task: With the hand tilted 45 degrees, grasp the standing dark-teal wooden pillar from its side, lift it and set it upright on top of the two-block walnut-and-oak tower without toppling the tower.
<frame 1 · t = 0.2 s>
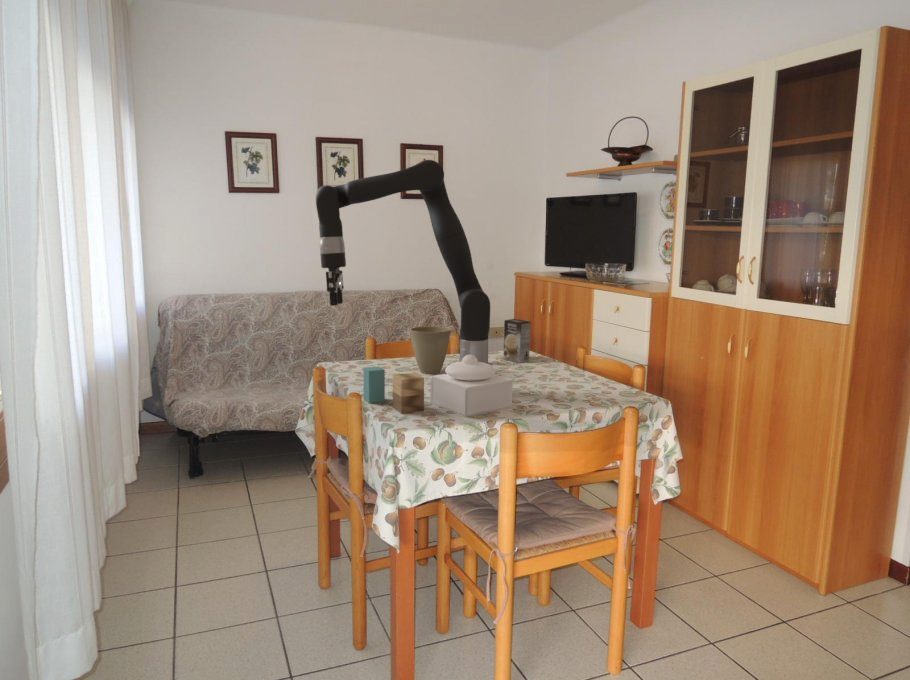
hand: (336, 304, 209), 28 cm above the table, tool pointing down, fingers open, 8 cm apart
coffee box: (516, 360, 269), on the table
oak block: (408, 392, 196), point 5 cm above the table, touching walnut block
walnut block: (408, 409, 197), on the table, touching oak block
plant pot: (430, 372, 246), on the table
teal pillar: (374, 400, 206), on the table
butter dish: (471, 407, 201), on the table
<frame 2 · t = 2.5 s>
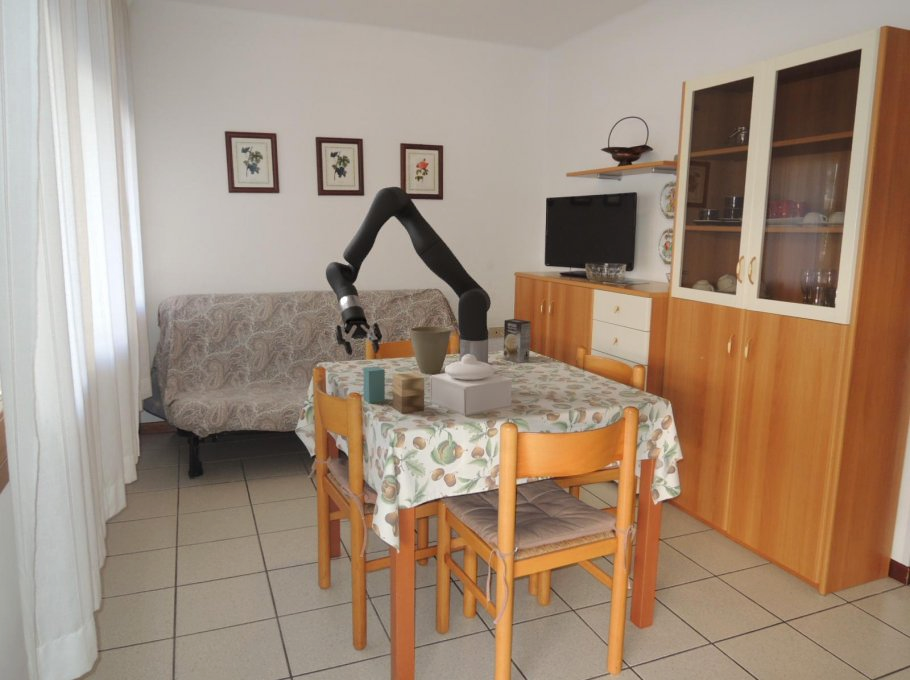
hand: (363, 352, 212), 13 cm above the table, tool tilted 45°, fingers open, 8 cm apart
nothing on the table moved.
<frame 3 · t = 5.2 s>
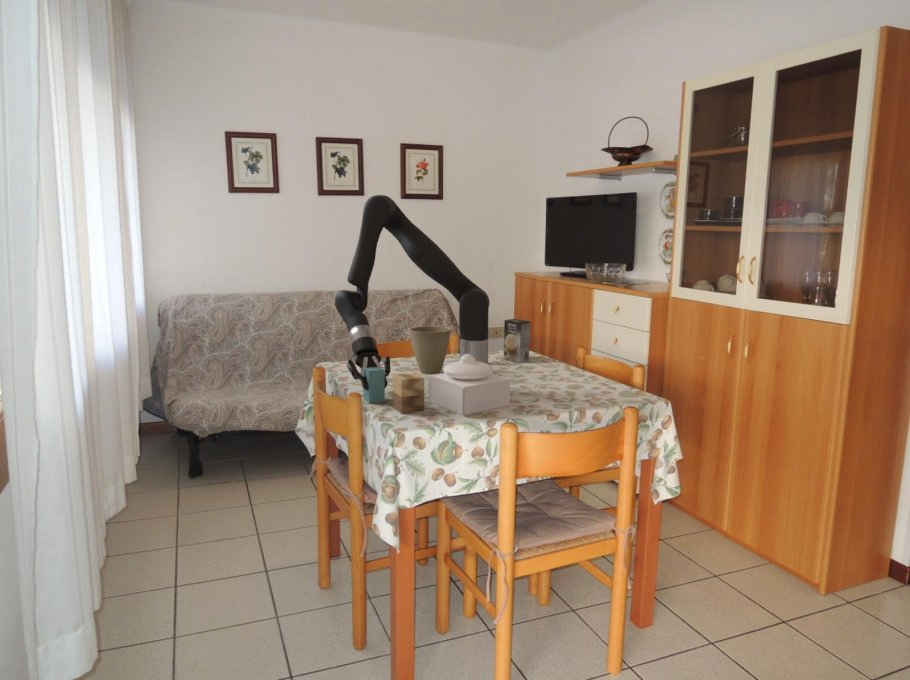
hand: (376, 387, 203), 4 cm above the table, tool tilted 45°, fingers closed on teal pillar, 5 cm apart
teal pillar: (374, 400, 206), on the table, touching gripper
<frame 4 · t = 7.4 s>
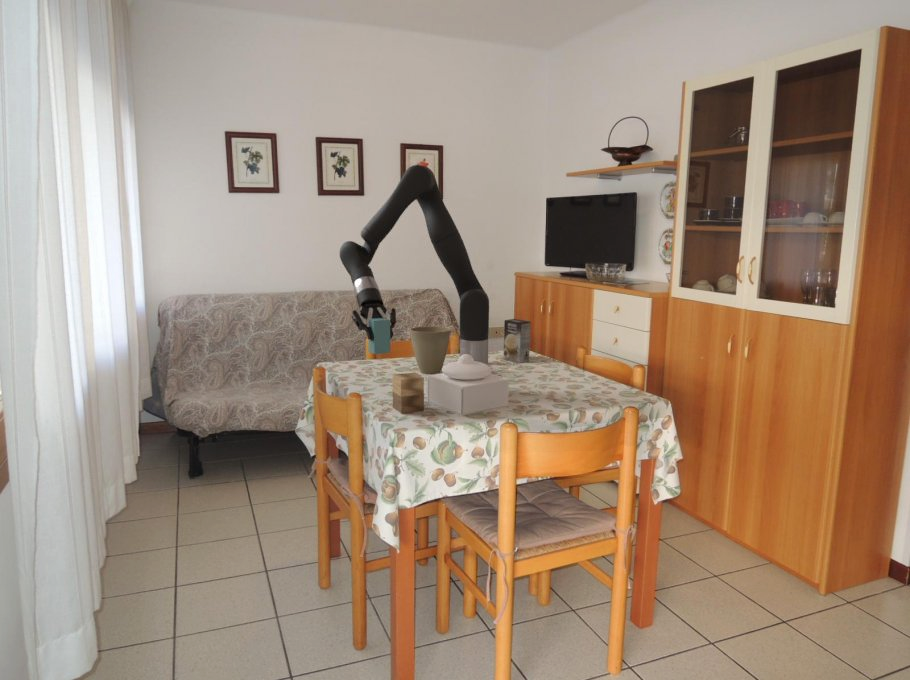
hand: (381, 338, 199), 20 cm above the table, tool tilted 45°, fingers closed on teal pillar, 5 cm apart
teal pillar: (379, 352, 202), point 15 cm above the table, touching gripper
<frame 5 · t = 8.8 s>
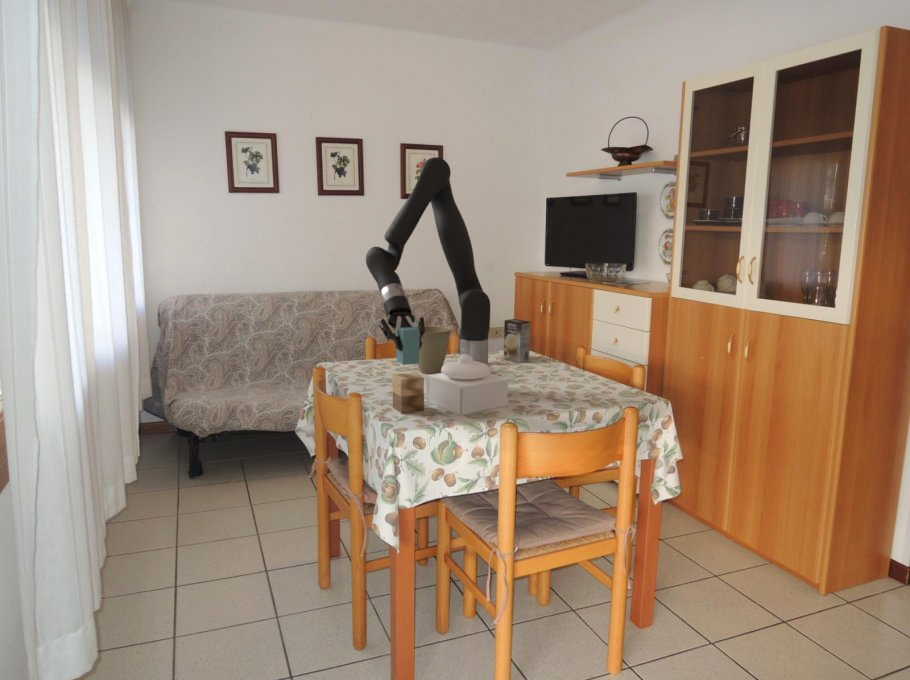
hand: (410, 348, 192), 18 cm above the table, tool tilted 45°, fingers closed on teal pillar, 5 cm apart
teal pillar: (407, 362, 195), point 14 cm above the table, touching gripper
when the fingers open (15 cm above the table, at t = 9.8 s): teal pillar drops 1 cm, point 10 cm above the table.
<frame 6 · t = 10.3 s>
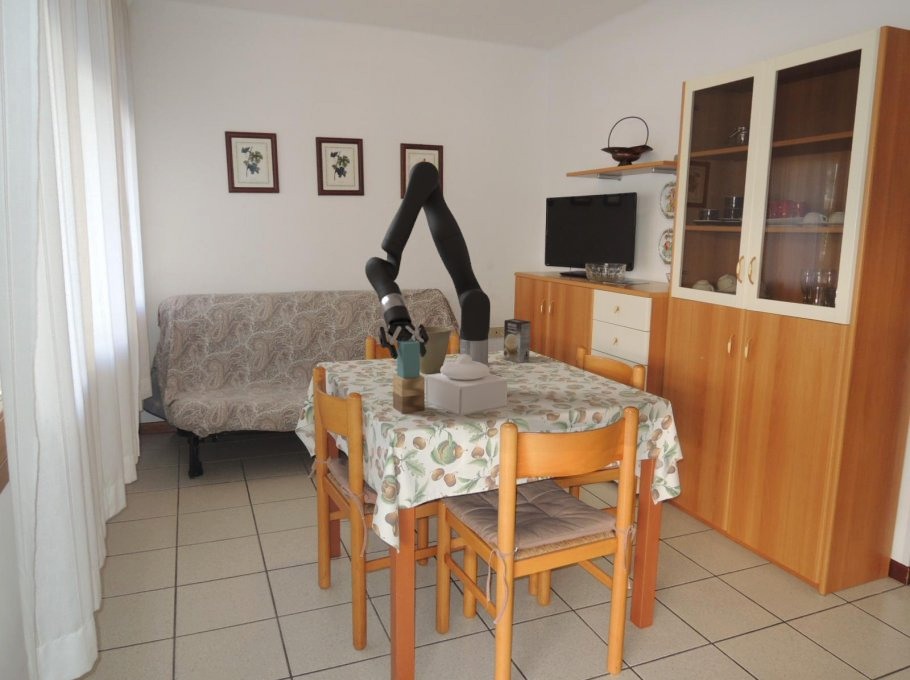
hand: (410, 356, 193), 16 cm above the table, tool tilted 45°, fingers open, 8 cm apart
teal pillar: (408, 376, 195), point 10 cm above the table
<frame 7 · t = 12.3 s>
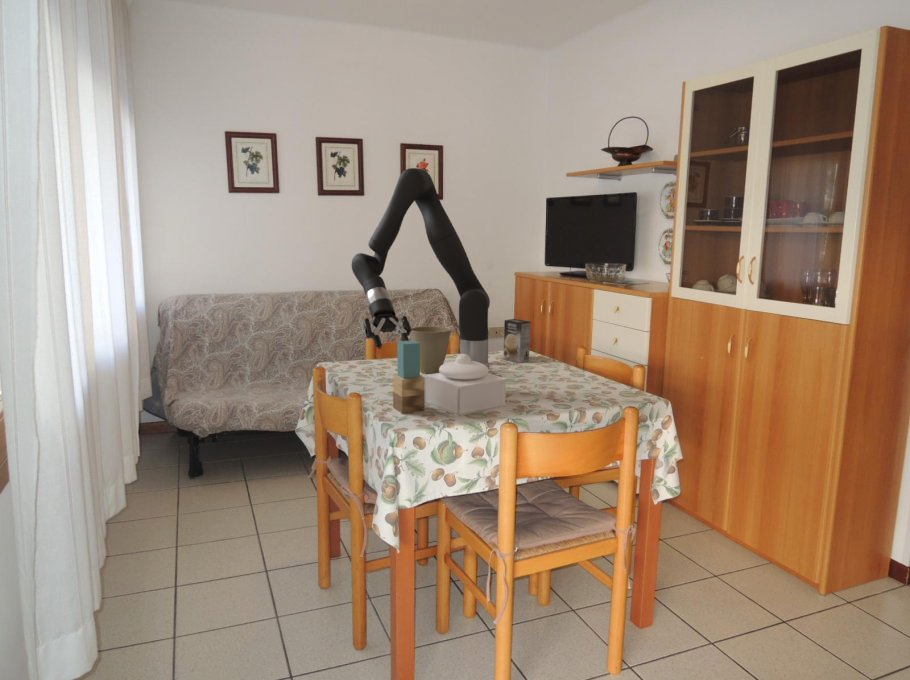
hand: (393, 346, 205), 17 cm above the table, tool tilted 45°, fingers open, 8 cm apart
oak block: (408, 392, 196), point 5 cm above the table, touching teal pillar, walnut block
teal pillar: (408, 376, 195), point 10 cm above the table, touching oak block
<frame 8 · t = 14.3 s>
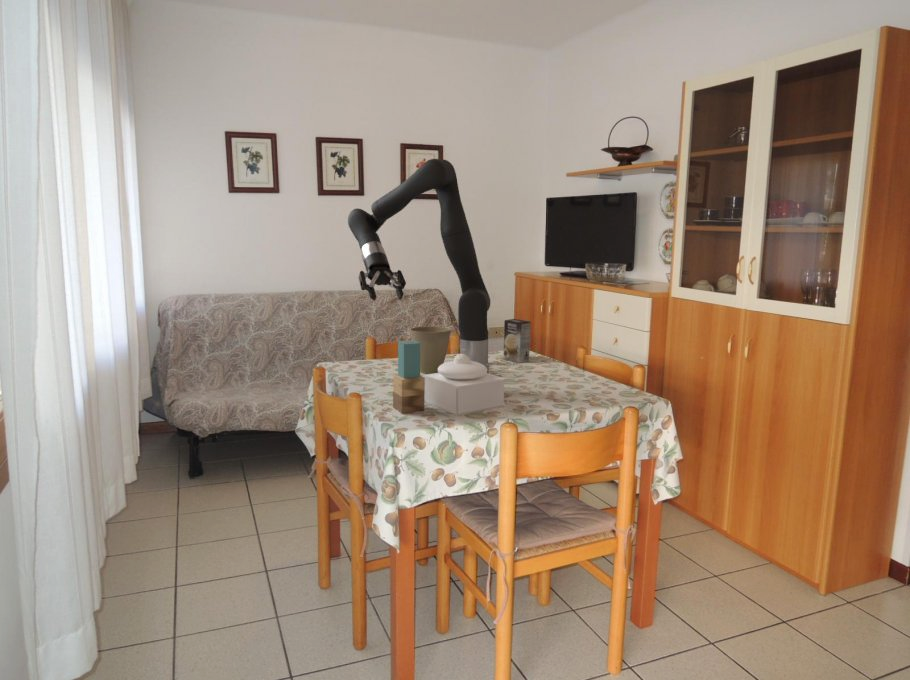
hand: (387, 298, 207), 31 cm above the table, tool tilted 45°, fingers open, 8 cm apart
at the end: teal pillar 0.3 cm off-centre on the walnut block, point 10.0 cm above the walnut block's base; teal pillar tilted 0°; oak block 0.1 cm off-centre on the walnut block, point 5.0 cm above the walnut block's base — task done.
